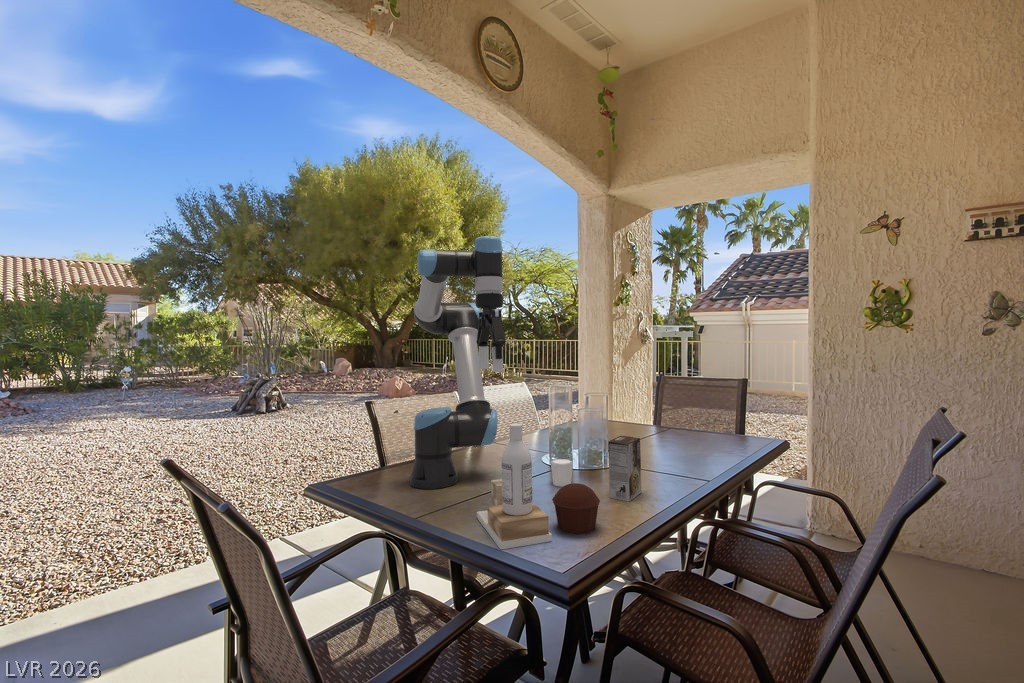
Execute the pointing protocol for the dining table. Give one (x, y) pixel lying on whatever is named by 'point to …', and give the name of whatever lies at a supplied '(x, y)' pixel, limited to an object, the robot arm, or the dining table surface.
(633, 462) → the coffee box
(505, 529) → the oak plinth
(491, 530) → the base board
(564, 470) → the white cup
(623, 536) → the dining table surface
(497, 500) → the beech post
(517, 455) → the bath foam
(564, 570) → the dining table surface
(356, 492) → the dining table surface
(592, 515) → the muffin
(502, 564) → the dining table surface
